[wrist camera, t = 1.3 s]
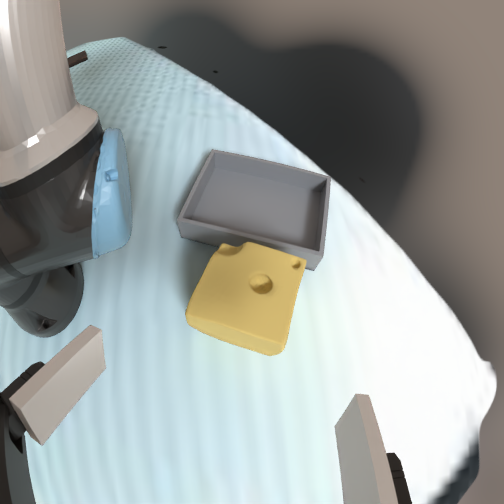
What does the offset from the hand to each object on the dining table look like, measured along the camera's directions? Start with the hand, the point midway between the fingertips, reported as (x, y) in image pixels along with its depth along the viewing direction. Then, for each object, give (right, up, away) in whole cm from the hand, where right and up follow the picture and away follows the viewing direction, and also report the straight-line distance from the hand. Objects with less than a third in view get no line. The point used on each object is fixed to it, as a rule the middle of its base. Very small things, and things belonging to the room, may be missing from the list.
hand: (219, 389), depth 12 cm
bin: (+3, +13, +31) cm, 34 cm away
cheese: (+1, -1, +24) cm, 24 cm away
